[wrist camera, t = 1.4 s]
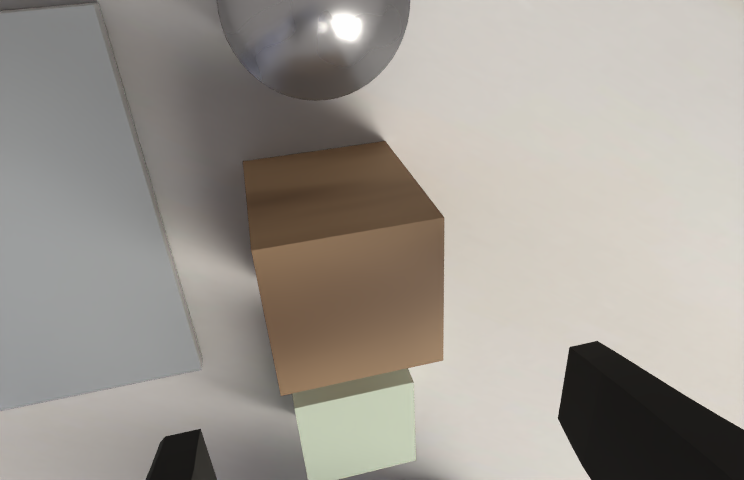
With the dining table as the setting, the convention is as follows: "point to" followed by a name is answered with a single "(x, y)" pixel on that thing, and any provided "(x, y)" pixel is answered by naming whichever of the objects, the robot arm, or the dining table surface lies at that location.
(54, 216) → the slate tile
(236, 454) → the dining table surface
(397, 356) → the walnut block
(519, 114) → the dining table surface
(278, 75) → the grey cylinder
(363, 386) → the sage box
